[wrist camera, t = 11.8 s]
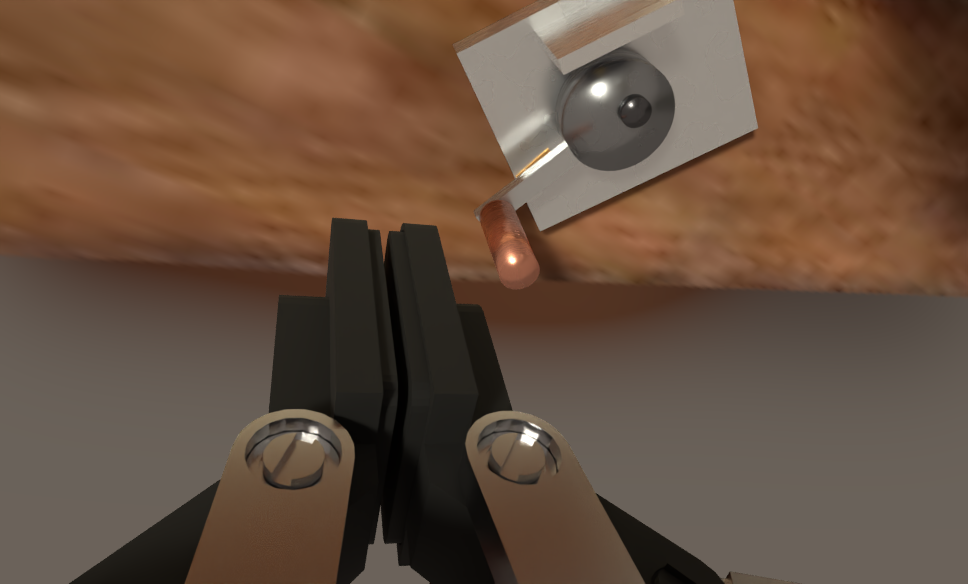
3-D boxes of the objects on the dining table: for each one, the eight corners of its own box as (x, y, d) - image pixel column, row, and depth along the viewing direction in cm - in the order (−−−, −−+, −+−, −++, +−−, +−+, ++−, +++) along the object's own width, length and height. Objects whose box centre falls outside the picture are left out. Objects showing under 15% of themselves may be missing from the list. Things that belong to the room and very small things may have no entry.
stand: (704, -86, 35) (763, -64, 30) (745, 118, 42) (798, 160, 37) (452, 44, 36) (471, 84, 32) (534, 219, 44) (559, 272, 39)
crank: (628, 25, 36) (690, 76, 30) (680, 110, 39) (745, 171, 33) (443, 173, 39) (465, 246, 33) (506, 240, 42) (537, 318, 36)
